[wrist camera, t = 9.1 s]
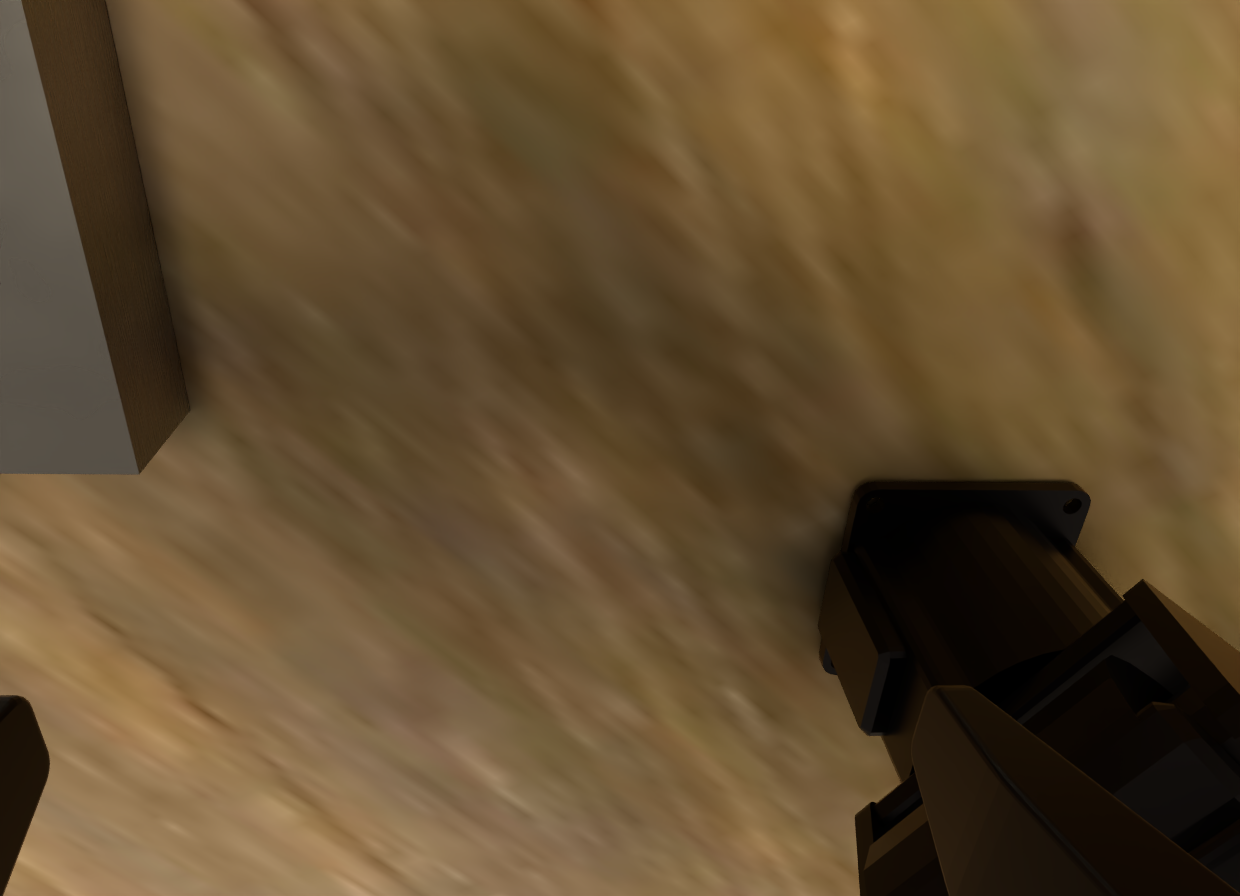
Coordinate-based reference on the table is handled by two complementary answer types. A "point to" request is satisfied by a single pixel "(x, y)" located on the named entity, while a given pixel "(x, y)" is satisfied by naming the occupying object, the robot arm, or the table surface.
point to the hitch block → (76, 256)
